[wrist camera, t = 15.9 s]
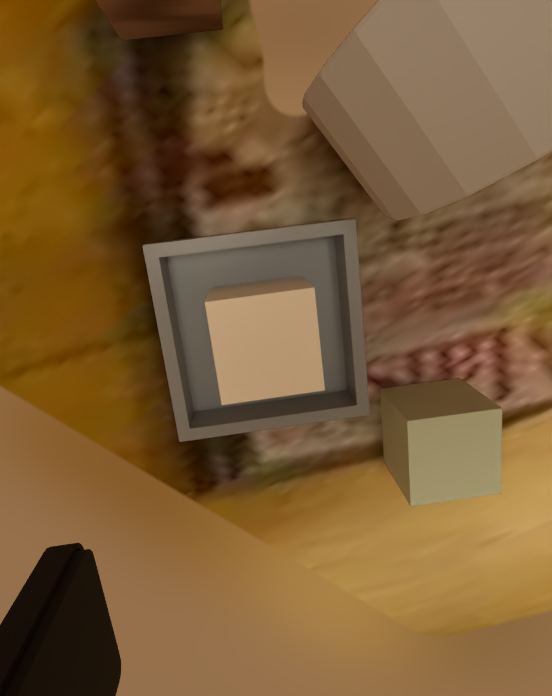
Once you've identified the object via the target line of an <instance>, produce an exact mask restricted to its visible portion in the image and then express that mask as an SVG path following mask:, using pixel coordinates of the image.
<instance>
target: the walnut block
mask: <svg viewBox="0 0 552 696" xmlns="http://www.w3.org/2000/svg"><path fill="white" fill-rule="evenodd" d="M96 2H97V3H98V5H99V6H100V8H101V10H102V11H103V13H104V14H105V16H106V17H107V19H108V20H109V22H110V23H111V25H112V27H113V28H114V30H115V31H116V33H117V34H118V36H119V37H120V39H121V40H130V39H139V38H148V37H157V36H166V35H175V34H185V33H194V32H203V31H212V30H221V29H223V26H222V14H221V2H220V0H96Z"/></svg>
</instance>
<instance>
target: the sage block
mask: <svg viewBox="0 0 552 696" xmlns="http://www.w3.org/2000/svg"><path fill="white" fill-rule="evenodd" d="M380 400H381V418H382V435H383V453H384V463H385V465H386V466H387V468H388V470H389V471H390V473H391V474H392V476H393V478H394V479H395V481H396V483H397V484H398V486H399V488H400V489H401V491H402V493H403V494H404V496H405V498H406V499H407V501H408V503H409V504H410V506H418V505H425V504H432V503H439V502H446V501H453V500H460V499H467V498H474V497H481V496H488V495H495V494H501V457H502V408H501V407H500V406H498V405H497V404H495V403H494V402H493V401H491V400H490V399H488V398H487V397H486V396H484V395H483V394H481V393H480V392H478V391H477V390H476V389H474V388H473V387H471V386H470V385H469V384H467V383H466V382H464V381H463V380H462V379H460V378H456V379H449V380H441V381H434V382H426V383H419V384H411V385H403V386H396V387H388V388H381V389H380Z"/></svg>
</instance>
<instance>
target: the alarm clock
mask: <svg viewBox="0 0 552 696" xmlns="http://www.w3.org/2000/svg"><path fill="white" fill-rule="evenodd" d="M303 108H304V110H305V111H306V112H307V114H308V115H309V116H310V118H311V119H312V120H313V122H314V123H315V124H316V126H317V127H318V128H319V130H320V131H321V132H322V134H323V135H324V136H325V138H326V139H327V140H328V142H329V143H330V144H331V146H332V147H333V148H334V150H335V151H336V152H337V154H338V155H339V156H340V158H341V159H342V160H343V162H344V163H345V164H346V165H347V167H348V168H349V169H350V171H351V172H352V173H353V175H354V176H355V177H356V179H357V180H358V181H359V183H360V184H361V185H362V187H363V188H364V189H365V191H366V192H367V193H368V195H369V196H370V197H371V199H372V200H373V201H374V203H375V204H376V205H377V207H378V208H379V209H380V211H381V212H382V213H383V215H384V216H386V217H389V218H391V219H394V220H397V221H398V220H402V219H407V218H412V217H416V216H421V215H424V214H427V213H429V212H432V211H434V210H436V209H439V208H441V207H444V206H446V205H448V204H451V203H453V202H455V201H458V200H460V199H463V198H465V197H467V196H470V195H472V194H474V193H475V192H477V191H479V190H481V189H483V188H485V187H487V186H489V185H491V184H492V183H494V182H496V181H498V180H500V179H502V178H504V177H506V176H507V175H509V174H511V173H513V172H515V171H517V170H519V169H521V168H523V167H524V166H526V165H528V164H530V163H532V162H534V161H536V160H538V159H540V158H541V157H543V156H545V155H546V154H548V153H549V152H551V151H552V0H378V1H377V2H376V3H375V4H374V5H373V6H372V7H371V9H370V10H369V11H368V12H367V13H366V14H365V15H364V17H363V18H362V19H361V20H360V21H359V22H358V24H357V25H356V26H355V27H354V28H353V30H352V31H351V32H350V33H349V35H348V36H347V37H346V38H345V40H344V41H343V42H342V43H341V44H340V46H339V47H338V48H337V50H336V51H335V52H334V53H333V54H332V56H331V57H330V58H329V59H328V61H327V62H326V63H325V64H324V66H323V67H322V69H321V70H320V72H319V73H318V74H317V76H316V77H315V79H314V81H313V82H312V84H311V85H310V86H309V88H308V89H307V91H306V93H305V94H304V98H303Z"/></svg>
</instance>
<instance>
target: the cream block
mask: <svg viewBox="0 0 552 696" xmlns="http://www.w3.org/2000/svg"><path fill="white" fill-rule="evenodd" d="M205 307H206V313H207V319H208V325H209V331H210V337H211V344H212V350H213V356H214V362H215V368H216V374H217V380H218V386H219V392H220V398H221V404H222V405H227V404H234V403H241V402H248V401H255V400H262V399H269V398H276V397H283V396H290V395H296V394H303V393H310V392H317V391H324V390H325V386H324V376H323V366H322V356H321V347H320V337H319V327H318V317H317V308H316V298H315V288H314V287H313V286H312V285H311V284H310V283H309V282H307V281H306V280H305V279H304V278H303V277H302V276H294V277H286V278H279V279H271V280H264V281H256V282H249V283H241V284H234V285H226V286H219V287H211V289H210V291H209V293H208V296H207V298H206V300H205Z"/></svg>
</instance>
